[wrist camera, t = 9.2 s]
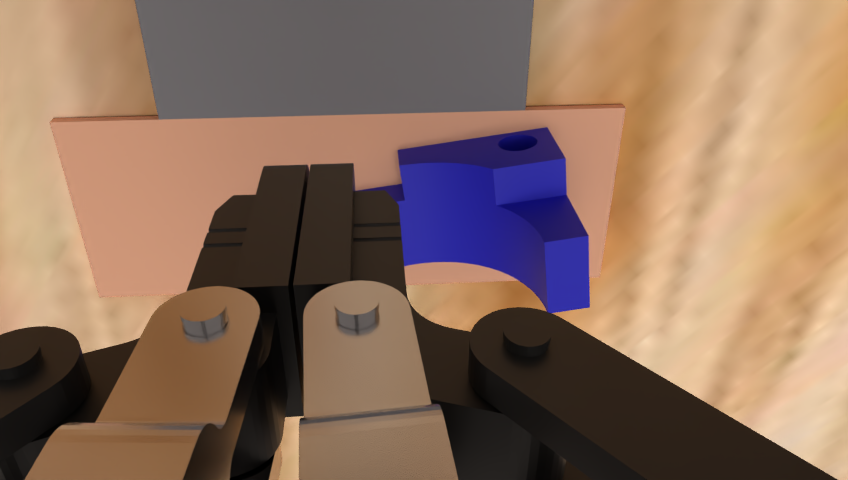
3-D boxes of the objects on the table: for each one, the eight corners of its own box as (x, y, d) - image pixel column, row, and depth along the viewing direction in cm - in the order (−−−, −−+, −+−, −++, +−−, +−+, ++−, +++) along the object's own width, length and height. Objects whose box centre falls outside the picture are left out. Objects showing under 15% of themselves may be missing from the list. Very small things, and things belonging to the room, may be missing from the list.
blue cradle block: (547, 126, 28) (588, 196, 23) (551, 224, 30) (589, 307, 25) (248, 172, 28) (222, 251, 23) (275, 266, 30) (257, 357, 25)
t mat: (-56, -271, 21) (-63, -272, 20) (677, -264, 22) (682, -266, 22) (102, 292, 31) (99, 297, 31) (597, 272, 32) (599, 277, 32)
